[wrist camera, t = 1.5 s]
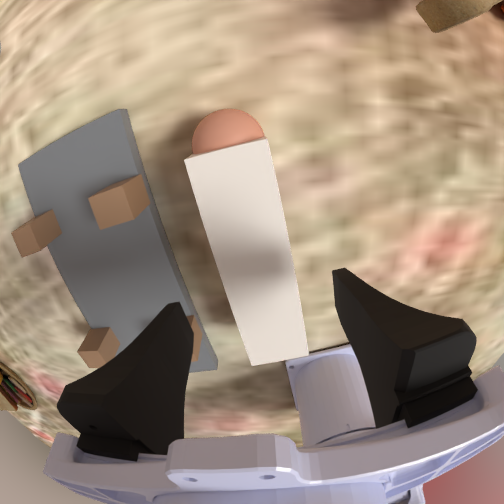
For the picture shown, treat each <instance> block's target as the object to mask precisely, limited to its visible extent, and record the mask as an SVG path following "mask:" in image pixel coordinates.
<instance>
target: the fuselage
mask: <svg viewBox="0 0 504 504" xmlns="http://www.w3.org/2000/svg"><path fill="white" fill-rule="evenodd" d="M192 152H193V154H192V155H190V156H189V157H187V158H186V159H185V160H184V162H185V165H186V169H187V172H188V175H189V179H190V182H191V185H192V189H193V192H194V195H195V199H196V202H197V205H198V208H199V212H200V215H201V218H202V221H203V225H204V228H205V231H206V234H207V237H208V240H209V243H210V247H211V250H212V253H213V256H214V259H215V262H216V265H217V268H218V271H219V274H220V277H221V280H222V283H223V286H224V289H225V292H226V295H227V298H228V300H229V303H230V306H231V309H232V312H233V315H234V318H235V321H236V323H237V326H238V329H239V332H240V335H241V337H242V340H243V343H244V346H245V348H246V351H247V354H248V357H249V359H250V362H251V365H252V366H255V365H261V364H267V363H272V362H278V361H283V360H289V359H294V358H299V357H303V356H308V355H309V352H308V345H307V339H306V333H305V326H304V320H303V314H302V308H301V302H300V297H299V291H298V285H297V280H296V274H295V269H294V263H293V258H292V253H291V248H290V242H289V237H288V232H287V227H286V222H285V217H284V212H283V207H282V203H281V198H280V193H279V188H278V184H277V179H276V175H275V170H274V165H273V161H272V157H271V152H270V148H269V143H268V139H267V138H266V137H265V136H264V133H263V130H262V128H261V126H260V125H259V123H258V122H257V121H256V120H255V119H254V118H253V117H252V116H251V115H249V114H248V113H246V112H244V111H241V110H237V109H222V110H218V111H215V112H213V113H211V114H209V115H207V116H206V117H205V118H204V119H202V121H201V122H200V123H199V124H198V126H197V127H196V129H195V131H194V134H193V138H192Z"/></svg>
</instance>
